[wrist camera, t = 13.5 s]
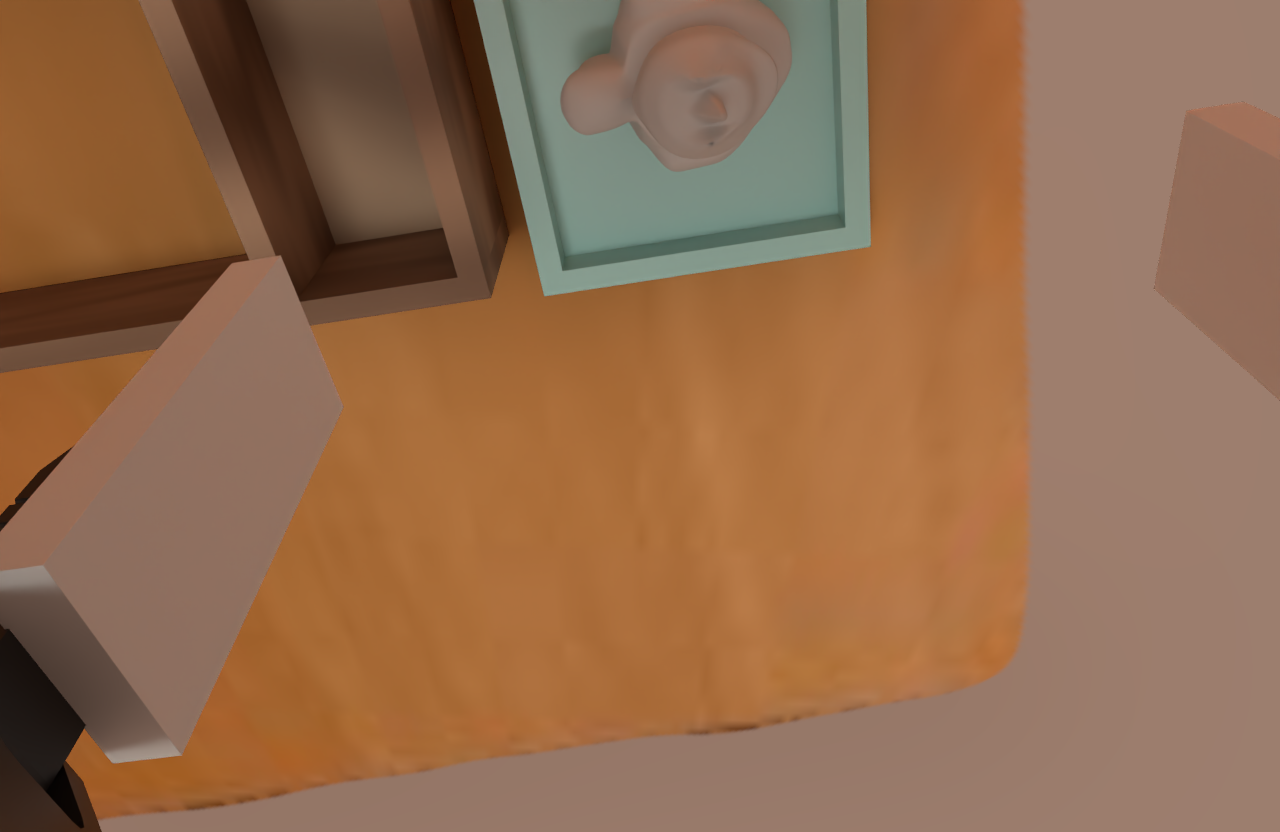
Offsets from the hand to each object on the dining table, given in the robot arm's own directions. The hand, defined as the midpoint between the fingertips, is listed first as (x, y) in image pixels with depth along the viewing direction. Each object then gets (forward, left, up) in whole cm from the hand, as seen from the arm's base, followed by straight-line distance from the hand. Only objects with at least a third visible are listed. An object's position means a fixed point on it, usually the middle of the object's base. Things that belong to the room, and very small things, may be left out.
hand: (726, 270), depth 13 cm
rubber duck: (0, 0, -17) cm, 17 cm away
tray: (0, 0, -17) cm, 17 cm away
